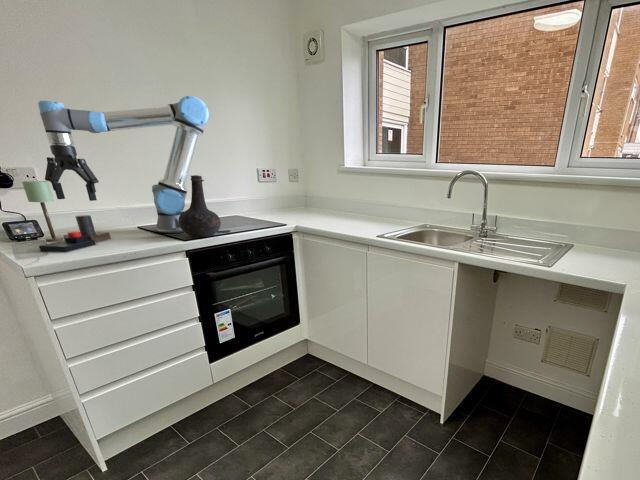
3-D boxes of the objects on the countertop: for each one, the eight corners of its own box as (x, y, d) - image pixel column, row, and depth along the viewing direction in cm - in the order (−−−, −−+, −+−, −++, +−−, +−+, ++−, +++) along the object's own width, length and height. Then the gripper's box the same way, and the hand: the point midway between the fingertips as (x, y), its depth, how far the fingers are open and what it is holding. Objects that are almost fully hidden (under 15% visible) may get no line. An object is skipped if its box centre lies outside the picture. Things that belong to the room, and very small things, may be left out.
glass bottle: (179, 240, 160) (171, 176, 150) (180, 230, 174) (173, 171, 164) (223, 239, 169) (218, 179, 158) (220, 231, 183) (216, 174, 172)
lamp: (71, 239, 140) (53, 181, 132) (55, 242, 133) (35, 182, 125) (54, 238, 140) (35, 180, 132) (37, 242, 133) (15, 181, 125)
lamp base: (96, 244, 150) (94, 235, 148) (66, 252, 136) (62, 242, 135) (73, 243, 150) (70, 234, 148) (40, 251, 136) (37, 241, 135)
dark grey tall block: (82, 233, 154) (76, 214, 151) (97, 233, 156) (91, 214, 153) (79, 235, 150) (73, 216, 147) (94, 235, 152) (88, 215, 149)
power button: (84, 236, 147) (82, 231, 146) (75, 238, 143) (74, 233, 142) (74, 236, 147) (73, 231, 146) (66, 238, 143) (64, 233, 142)
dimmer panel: (112, 238, 160) (110, 232, 159) (92, 244, 150) (89, 236, 149) (85, 237, 160) (83, 231, 159) (63, 242, 150) (60, 235, 149)
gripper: (21, 143, 137) (39, 199, 144) (85, 145, 137) (99, 201, 144) (40, 144, 144) (56, 197, 151) (100, 147, 144) (113, 200, 151)
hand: (77, 199), depth 148 cm, fingers open, 13 cm apart
